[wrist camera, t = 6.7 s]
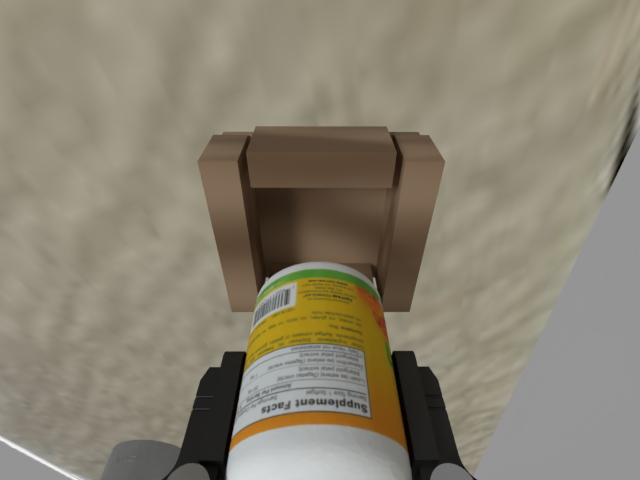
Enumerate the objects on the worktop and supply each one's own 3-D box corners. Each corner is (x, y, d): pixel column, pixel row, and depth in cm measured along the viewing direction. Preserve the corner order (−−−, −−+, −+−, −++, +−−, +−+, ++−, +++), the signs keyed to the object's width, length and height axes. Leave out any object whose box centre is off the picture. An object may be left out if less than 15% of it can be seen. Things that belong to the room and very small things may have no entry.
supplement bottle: (368, 343, 18) (405, 640, 10) (257, 336, 17) (208, 639, 10) (392, 261, 14) (477, 616, 7) (255, 251, 14) (178, 613, 6)
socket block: (398, 278, 25) (408, 316, 22) (242, 278, 25) (232, 316, 22) (428, 123, 18) (447, 152, 15) (213, 123, 18) (195, 152, 15)
